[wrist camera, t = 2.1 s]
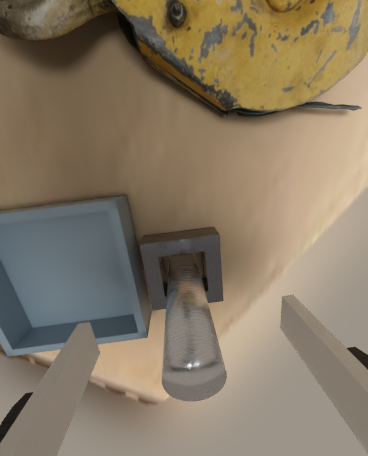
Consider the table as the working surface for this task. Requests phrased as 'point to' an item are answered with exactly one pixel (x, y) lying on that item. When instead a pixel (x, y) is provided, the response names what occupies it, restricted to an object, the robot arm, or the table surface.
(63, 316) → the parts tray
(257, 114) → the pulley block
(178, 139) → the table surface
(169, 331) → the pin
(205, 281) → the bracket
